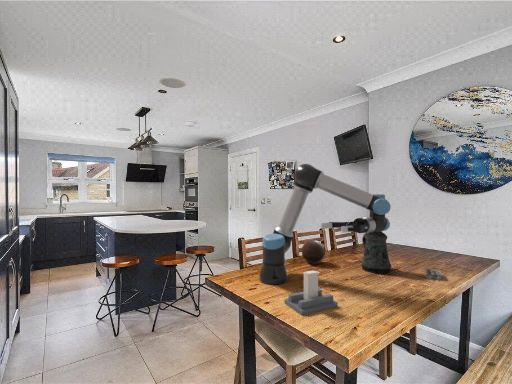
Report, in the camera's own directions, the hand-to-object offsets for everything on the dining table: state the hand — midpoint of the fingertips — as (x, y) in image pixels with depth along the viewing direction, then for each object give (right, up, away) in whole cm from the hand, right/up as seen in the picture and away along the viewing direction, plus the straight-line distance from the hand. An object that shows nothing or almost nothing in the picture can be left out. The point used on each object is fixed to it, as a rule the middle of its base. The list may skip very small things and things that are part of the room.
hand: (331, 227), depth 124 cm
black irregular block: (+36, -30, +36) cm, 60 cm away
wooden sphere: (+3, -30, +51) cm, 59 cm away
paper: (0, -31, +25) cm, 39 cm away
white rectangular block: (-12, -29, -14) cm, 34 cm away
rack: (-12, -30, -14) cm, 36 cm away
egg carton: (+63, -31, +23) cm, 74 cm away
